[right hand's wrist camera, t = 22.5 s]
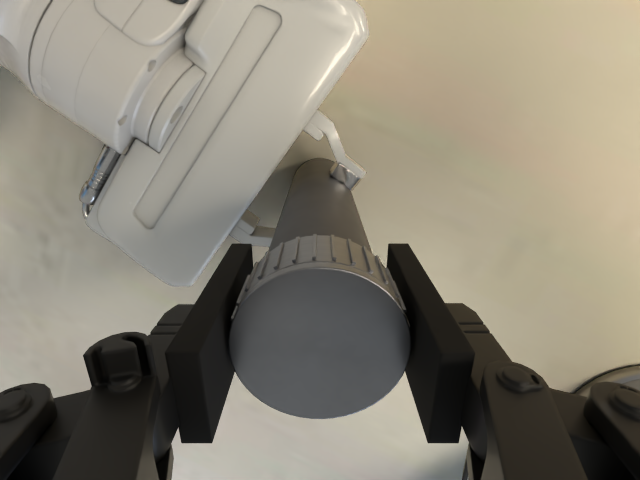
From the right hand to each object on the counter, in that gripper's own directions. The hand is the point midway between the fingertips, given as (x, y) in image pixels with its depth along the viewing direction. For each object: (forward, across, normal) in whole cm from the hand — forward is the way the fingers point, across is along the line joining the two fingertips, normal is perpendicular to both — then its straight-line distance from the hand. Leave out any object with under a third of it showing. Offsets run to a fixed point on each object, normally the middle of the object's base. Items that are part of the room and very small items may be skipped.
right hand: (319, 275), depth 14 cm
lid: (-4, 0, 0) cm, 4 cm away
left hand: (+10, -1, 0) cm, 10 cm away
